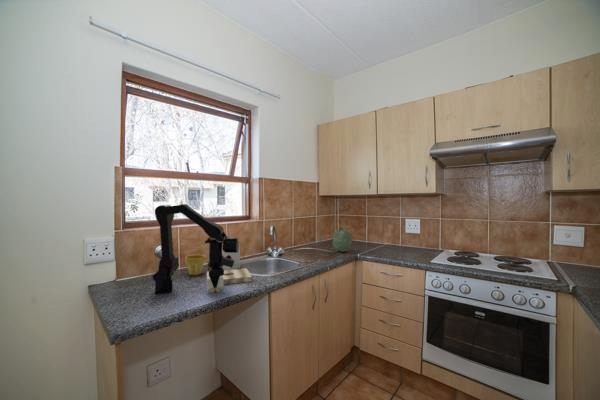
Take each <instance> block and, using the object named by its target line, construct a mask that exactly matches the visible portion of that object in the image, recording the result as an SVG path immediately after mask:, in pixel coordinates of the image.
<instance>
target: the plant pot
mask: <svg viewBox="0 0 600 400" xmlns="http://www.w3.org/2000/svg"><path fill="white" fill-rule="evenodd" d="M184 261H185V264H186V268H187V272H188V275H189V276H198V275H201V273H202V271H203V267H204V263H205V262H206V256H205V254H204V255H203V254H192V255H191V254H190V255H188V256H185V259H184Z"/></svg>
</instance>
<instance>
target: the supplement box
mask: <svg viewBox="0 0 600 400" xmlns="http://www.w3.org/2000/svg"><path fill="white" fill-rule="evenodd" d="M222 246H223V243H222ZM222 255H223V257H226V256H227V255H230V256H231V259H233V260H234V261H235V262H234V264H233V267H232V268H230V267H228V266H225V265H223V267H222V268H223V269H224V270H234V269H241V244H240V243H239V250H238V253H225V251H223V249H222Z"/></svg>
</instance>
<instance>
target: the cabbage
mask: <svg viewBox="0 0 600 400" xmlns="http://www.w3.org/2000/svg"><path fill="white" fill-rule="evenodd" d="M352 244H353V235H352V234H351V232H349V229H348V228H345V229H344V228H342V229H341V228H338V229H335V231H334V233H333V237H332V246H333V248H334V249H335V251H337V252H338V251H340V252H339V253H346V252H348V251H349V250H350V248H351V247H352ZM345 251H346V252H345Z"/></svg>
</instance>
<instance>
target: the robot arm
mask: <svg viewBox="0 0 600 400" xmlns="http://www.w3.org/2000/svg"><path fill="white" fill-rule="evenodd" d="M177 214H182V215H184V217H186V218H188V219H189V220H190V221H191V222H193V223H194V224H196V225H197V226H198V227H200V228H201V229H202V230H203V231H204V233H205V234H206V235H207V236H208V238H207V239H206V240H204V243H205V244H209V247H208V248H209V249H208V252H209V253H208V261H207V272H209V277H210V279H211V282H212V284H213V286H214V288H216V287H217V284H218V280H219V277H220V276H222V275H224V269H223V268H222V267H223V265H225V266H228V267H230V268H232V267H233V264H234V262H235V261H234V260H233V259H231V256H230V255H227V256H226V257H223V255H222V249H223V251H225V253H238V250H239V244H240V243H239V238H238V237H233V238H231V237H230V238H229V236H228V235H227V234H226V233H225V231H224V227H223V225H220V224H218V223H216V222H213V221H211V220H208V219H207V218H206V217H204V216H203V215H201V214H200V213H198V212H197V211H196V210H194V208H192V207H190V206H189V204H186V203H181V204H179V205H170V204H167V205H166V204H165V205H164V204H163V205H161V204H160V205H158V206H157V207H156V208H155V209H154V215H155V219H156V221H157V223H158V224H159V231H160V232H159V233H160V248H161V257H160V260H159V263H158V270H157V271H156V272H155V273H154V274H153V275H152V276H151V277H152V279H153V281H155V284H154V285H155V286H154V287H155V288H154V294H155V295H158V294H159V295H160V294H169V293H171V292H172V290H173V289H174V279H173V276H174V273H175V272H176V271H177V270H178V267H179V266H180V264H179V256H175V255H174V245H173V244H174V243H173V231H172V229H173V228H172V224H173V221H174V218H175V215H177ZM222 244H223V246H222Z"/></svg>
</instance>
